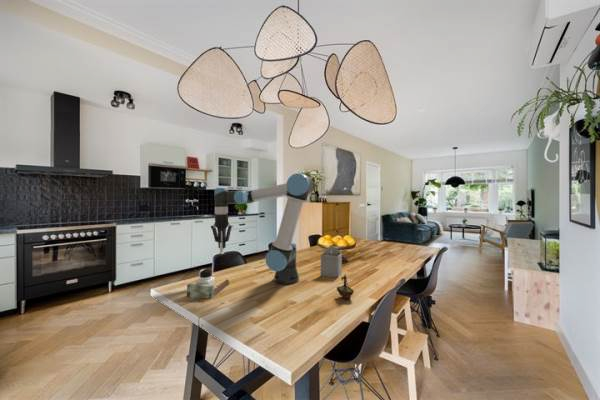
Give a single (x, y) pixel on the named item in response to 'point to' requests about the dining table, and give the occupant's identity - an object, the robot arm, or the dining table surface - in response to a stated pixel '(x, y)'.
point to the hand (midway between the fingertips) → (222, 253)
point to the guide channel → (204, 290)
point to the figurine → (345, 289)
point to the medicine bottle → (206, 277)
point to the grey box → (331, 262)
